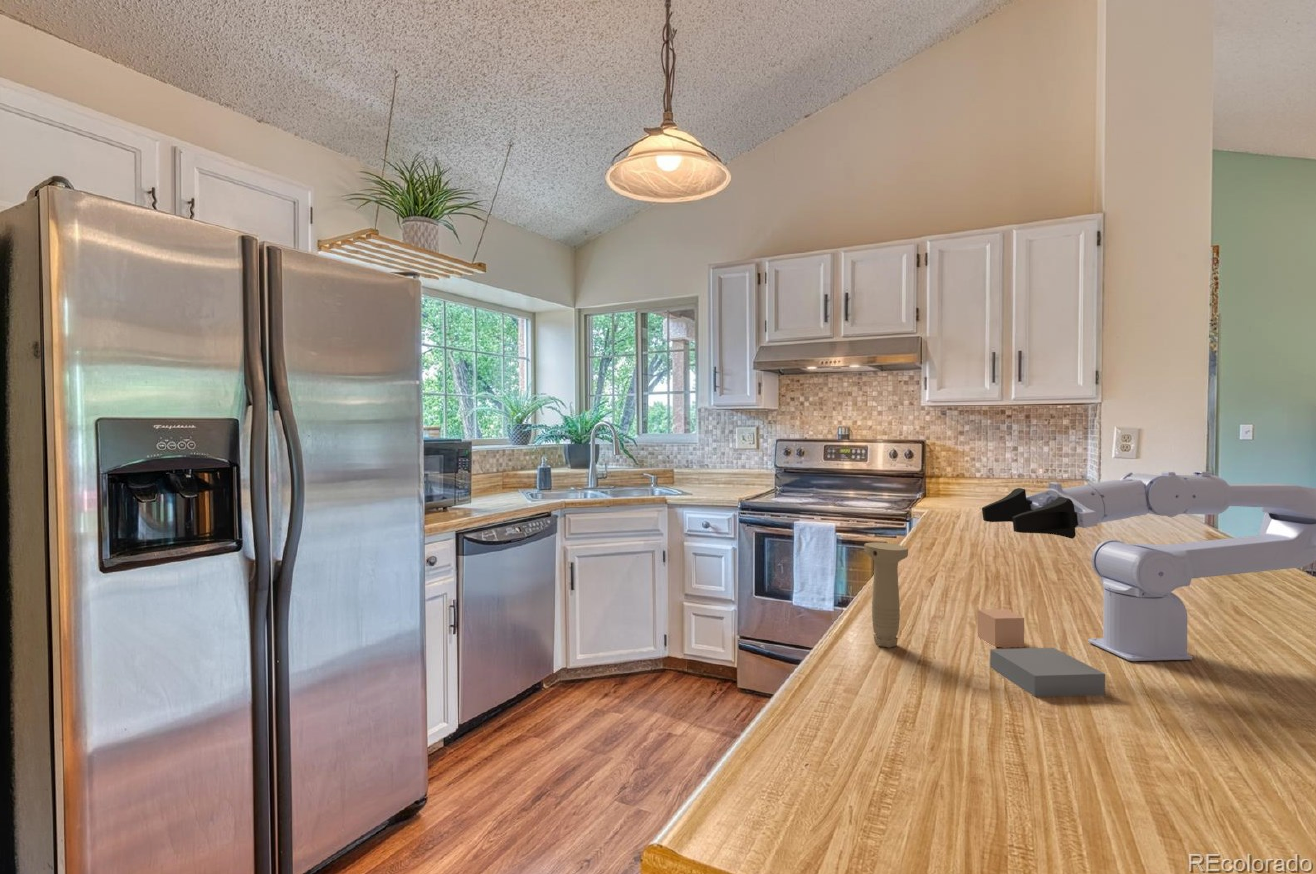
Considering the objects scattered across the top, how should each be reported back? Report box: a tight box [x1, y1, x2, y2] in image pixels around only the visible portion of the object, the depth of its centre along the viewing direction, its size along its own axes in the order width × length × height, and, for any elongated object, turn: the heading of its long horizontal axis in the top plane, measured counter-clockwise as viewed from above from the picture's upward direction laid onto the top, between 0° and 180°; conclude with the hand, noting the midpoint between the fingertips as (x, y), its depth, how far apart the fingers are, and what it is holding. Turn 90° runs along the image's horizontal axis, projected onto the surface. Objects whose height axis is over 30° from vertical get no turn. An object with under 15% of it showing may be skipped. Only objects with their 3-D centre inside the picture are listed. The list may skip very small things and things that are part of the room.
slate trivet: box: [989, 647, 1106, 698], centre depth 79 cm, size 9×9×3 cm
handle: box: [863, 541, 909, 649], centre depth 92 cm, size 5×6×15 cm
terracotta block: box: [977, 608, 1025, 649], centre depth 93 cm, size 4×4×4 cm
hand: (998, 519), depth 89 cm, fingers open, 7 cm apart
